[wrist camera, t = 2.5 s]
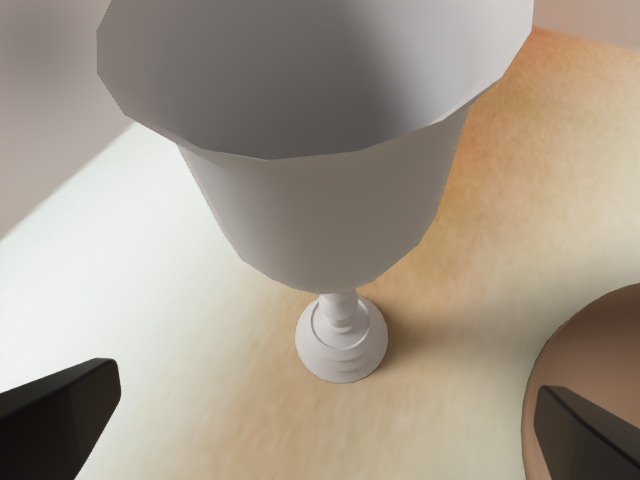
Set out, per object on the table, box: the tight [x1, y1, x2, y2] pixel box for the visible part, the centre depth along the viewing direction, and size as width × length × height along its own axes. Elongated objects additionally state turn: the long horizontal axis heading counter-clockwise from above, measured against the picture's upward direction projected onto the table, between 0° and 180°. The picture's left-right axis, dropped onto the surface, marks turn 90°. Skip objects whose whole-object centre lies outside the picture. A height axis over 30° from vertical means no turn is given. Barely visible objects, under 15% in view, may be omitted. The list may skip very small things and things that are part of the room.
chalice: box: [97, 0, 534, 383], centre depth 14 cm, size 7×7×18 cm
